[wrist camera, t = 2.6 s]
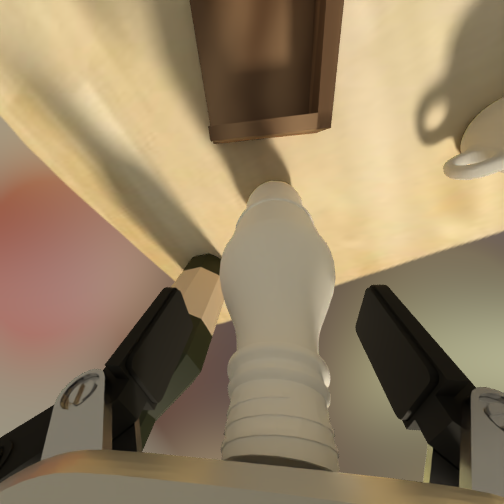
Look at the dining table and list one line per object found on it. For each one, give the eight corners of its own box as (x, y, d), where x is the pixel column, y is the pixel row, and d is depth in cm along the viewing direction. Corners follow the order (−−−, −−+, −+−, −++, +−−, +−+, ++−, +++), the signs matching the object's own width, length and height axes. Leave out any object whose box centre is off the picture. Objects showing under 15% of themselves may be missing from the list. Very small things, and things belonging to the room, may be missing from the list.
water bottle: (239, 206, 27) (97, 450, 5) (272, 165, 24) (271, 351, 2) (274, 236, 28) (280, 508, 7) (310, 202, 25) (522, 506, 4)
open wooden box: (329, -42, 15) (358, -140, 10) (316, 132, 21) (330, 127, 16) (191, -10, 17) (154, -81, 12) (215, 143, 23) (199, 142, 18)
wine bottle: (241, 276, 33) (129, 728, 7) (210, 295, 36) (59, 656, 11) (208, 244, 30) (-152, 784, 5) (179, 268, 34) (-131, 664, 8)
